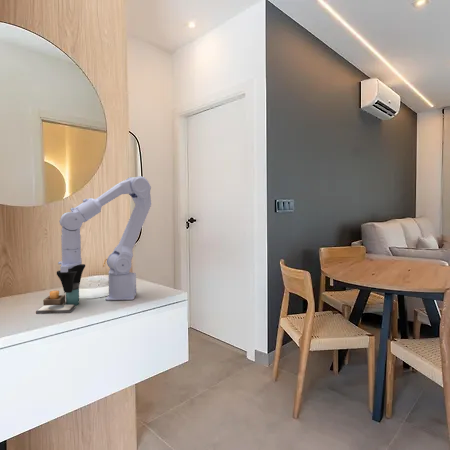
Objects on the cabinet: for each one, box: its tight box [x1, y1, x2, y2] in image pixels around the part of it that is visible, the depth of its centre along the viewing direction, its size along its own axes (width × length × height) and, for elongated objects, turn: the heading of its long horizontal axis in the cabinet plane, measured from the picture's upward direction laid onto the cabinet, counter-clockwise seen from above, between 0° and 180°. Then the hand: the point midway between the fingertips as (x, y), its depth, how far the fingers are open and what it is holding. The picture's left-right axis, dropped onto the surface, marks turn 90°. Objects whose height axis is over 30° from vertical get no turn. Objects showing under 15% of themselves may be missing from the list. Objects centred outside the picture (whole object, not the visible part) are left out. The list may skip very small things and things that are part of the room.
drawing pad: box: [35, 304, 77, 315], centre depth 103 cm, size 10×5×1 cm, turn 97°
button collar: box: [42, 294, 66, 306], centre depth 108 cm, size 5×5×2 cm
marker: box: [65, 282, 80, 307], centre depth 108 cm, size 4×4×7 cm
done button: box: [49, 290, 60, 299], centre depth 108 cm, size 3×3×3 cm
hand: (72, 289), depth 108 cm, fingers open, 7 cm apart
